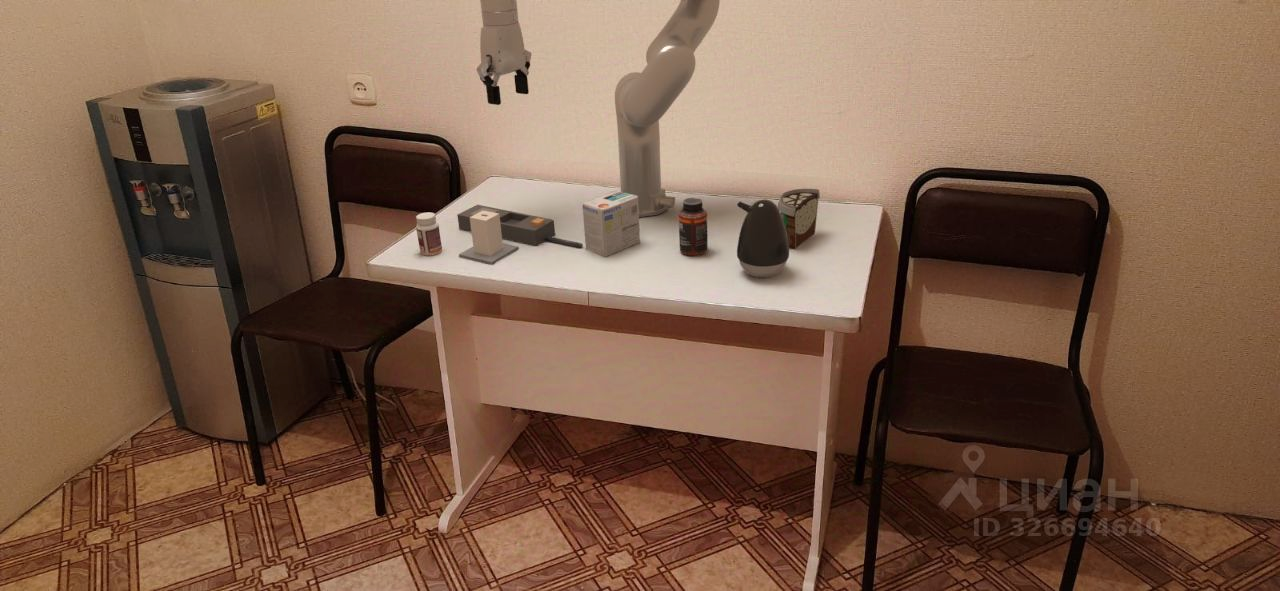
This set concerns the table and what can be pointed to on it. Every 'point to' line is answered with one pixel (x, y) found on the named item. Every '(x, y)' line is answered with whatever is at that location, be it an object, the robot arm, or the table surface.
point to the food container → (799, 214)
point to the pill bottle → (428, 234)
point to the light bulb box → (611, 222)
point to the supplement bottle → (693, 228)
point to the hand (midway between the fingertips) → (508, 98)
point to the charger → (486, 233)
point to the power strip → (518, 226)
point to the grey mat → (489, 259)
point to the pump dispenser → (762, 239)
